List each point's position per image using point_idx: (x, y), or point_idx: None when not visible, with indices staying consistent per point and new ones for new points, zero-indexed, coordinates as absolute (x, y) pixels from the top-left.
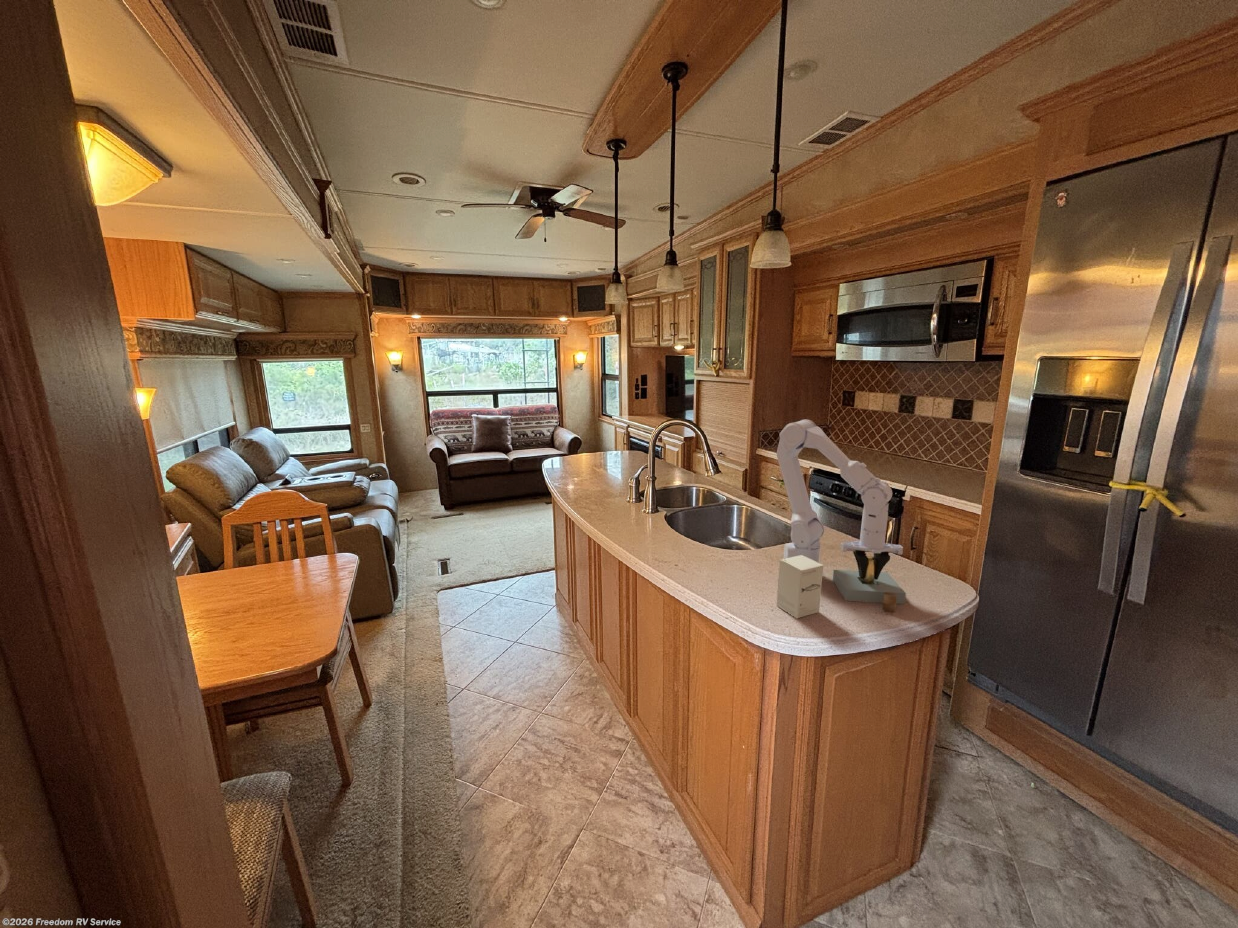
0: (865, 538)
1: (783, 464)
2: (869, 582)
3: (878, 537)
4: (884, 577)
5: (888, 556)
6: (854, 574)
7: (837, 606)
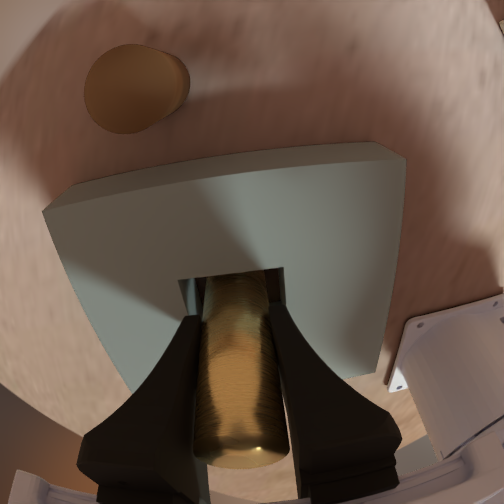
0: None
1: None
2: (234, 288)
3: None
4: (145, 360)
5: (90, 469)
6: None
7: (426, 72)
